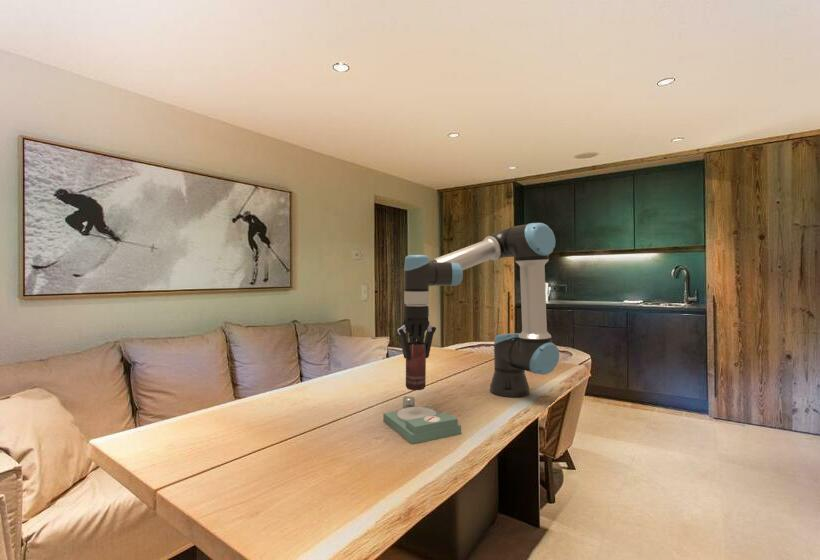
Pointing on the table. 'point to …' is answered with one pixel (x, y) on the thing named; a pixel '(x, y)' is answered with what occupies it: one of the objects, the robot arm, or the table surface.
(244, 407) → the table surface
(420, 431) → the scale
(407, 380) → the can
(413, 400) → the spacer
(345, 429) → the table surface
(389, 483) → the table surface
